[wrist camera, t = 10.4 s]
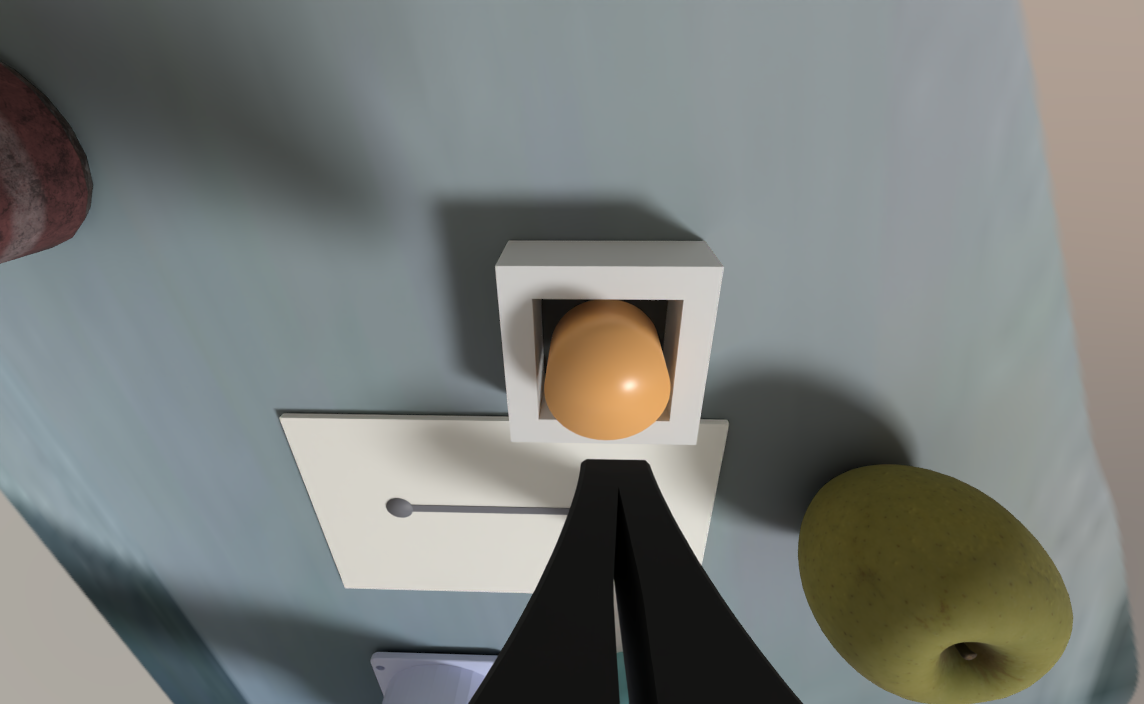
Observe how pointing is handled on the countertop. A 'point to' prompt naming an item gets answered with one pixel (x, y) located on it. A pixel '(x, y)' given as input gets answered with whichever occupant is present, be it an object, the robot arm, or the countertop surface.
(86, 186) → the can
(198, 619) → the countertop surface
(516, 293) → the button housing
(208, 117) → the countertop surface
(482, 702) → the robot arm
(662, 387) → the button
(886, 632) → the apple
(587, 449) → the paper
